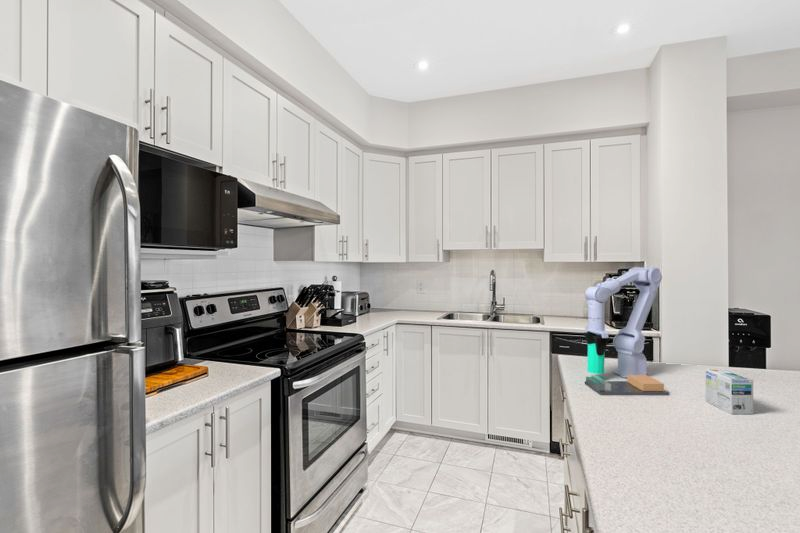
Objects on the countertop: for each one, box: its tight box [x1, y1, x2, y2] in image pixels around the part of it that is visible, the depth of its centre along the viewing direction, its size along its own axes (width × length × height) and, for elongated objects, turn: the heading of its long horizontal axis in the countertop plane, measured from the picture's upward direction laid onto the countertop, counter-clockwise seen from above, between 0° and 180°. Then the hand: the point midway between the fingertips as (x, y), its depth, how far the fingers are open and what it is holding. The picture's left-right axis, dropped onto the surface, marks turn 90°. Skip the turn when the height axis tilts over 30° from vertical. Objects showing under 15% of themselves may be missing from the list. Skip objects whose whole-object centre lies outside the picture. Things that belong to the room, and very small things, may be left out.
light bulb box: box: [705, 368, 754, 415], centre depth 122 cm, size 11×7×11 cm, turn 179°
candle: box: [586, 343, 606, 375], centre depth 152 cm, size 6×6×12 cm
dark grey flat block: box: [584, 374, 670, 396], centre depth 140 cm, size 23×12×4 cm, turn 89°
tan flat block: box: [626, 374, 665, 391], centre depth 140 cm, size 7×10×2 cm
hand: (596, 352), depth 152 cm, fingers closed on candle, 6 cm apart
